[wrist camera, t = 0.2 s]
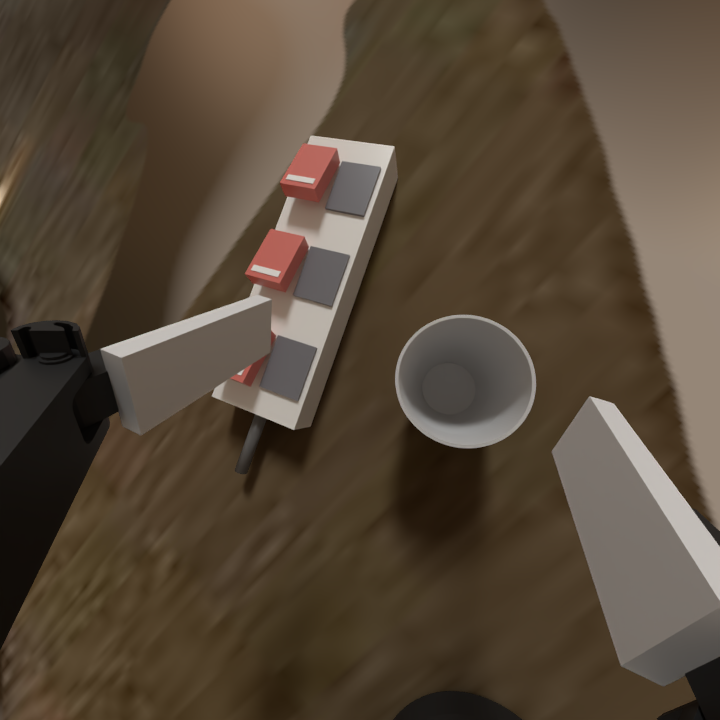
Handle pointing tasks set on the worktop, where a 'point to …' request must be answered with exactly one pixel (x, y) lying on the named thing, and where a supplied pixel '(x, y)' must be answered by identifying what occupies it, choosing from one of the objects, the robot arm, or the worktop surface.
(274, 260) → the plate
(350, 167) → the power strip
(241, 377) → the rocker
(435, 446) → the worktop surface
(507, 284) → the worktop surface
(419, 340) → the cup
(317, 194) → the block
